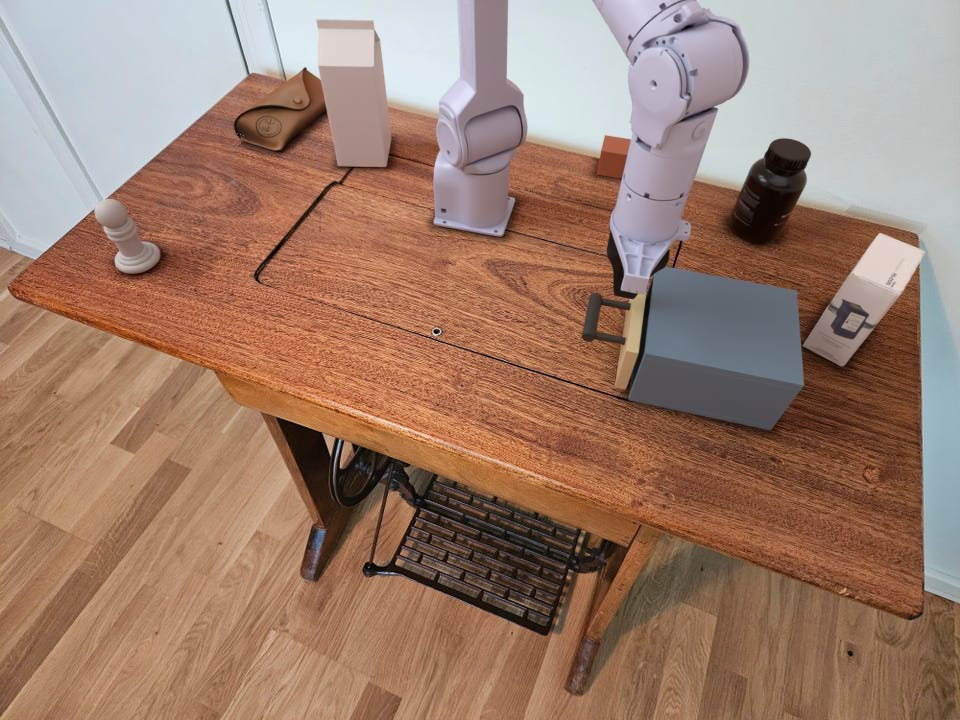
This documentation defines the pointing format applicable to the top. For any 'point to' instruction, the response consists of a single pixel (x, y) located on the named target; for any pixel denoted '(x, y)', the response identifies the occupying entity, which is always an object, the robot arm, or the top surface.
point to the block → (613, 156)
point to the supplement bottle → (770, 191)
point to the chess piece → (126, 238)
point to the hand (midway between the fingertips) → (624, 292)
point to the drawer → (627, 341)
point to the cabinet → (719, 348)
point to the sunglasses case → (282, 112)
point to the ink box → (864, 298)
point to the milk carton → (354, 91)
